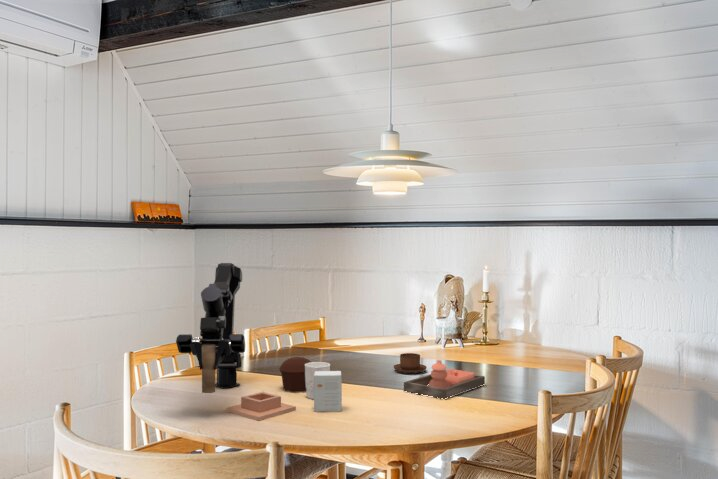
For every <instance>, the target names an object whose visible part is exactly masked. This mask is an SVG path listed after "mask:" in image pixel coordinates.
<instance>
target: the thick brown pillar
mask: <svg viewBox="0 0 718 479" xmlns="http://www.w3.org/2000/svg"><path fill="white" fill-rule="evenodd" d="M214 364H215V344H203V345H202V370H201V392H202V393H203V394H211V393H212V394H213V393H216V386H215V384H216V370H215V369H214Z"/></svg>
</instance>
